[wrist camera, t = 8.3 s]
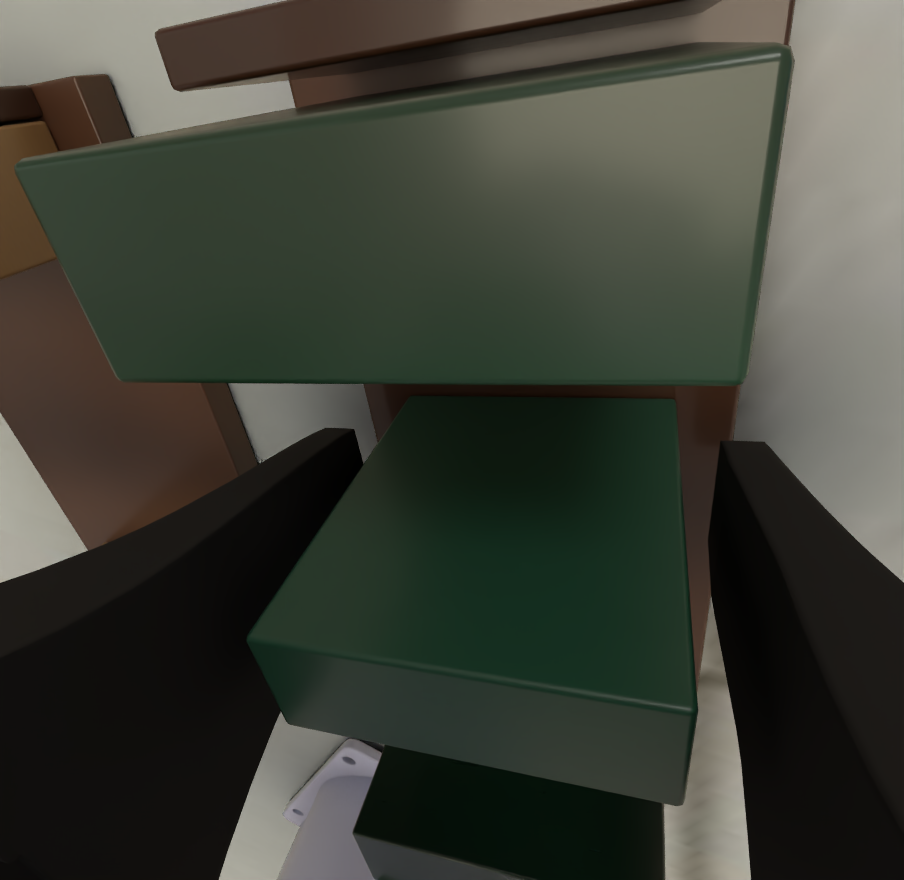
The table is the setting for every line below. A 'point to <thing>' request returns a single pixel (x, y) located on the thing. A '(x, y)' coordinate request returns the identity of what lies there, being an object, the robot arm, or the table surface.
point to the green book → (503, 595)
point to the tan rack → (91, 353)
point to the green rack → (455, 276)
